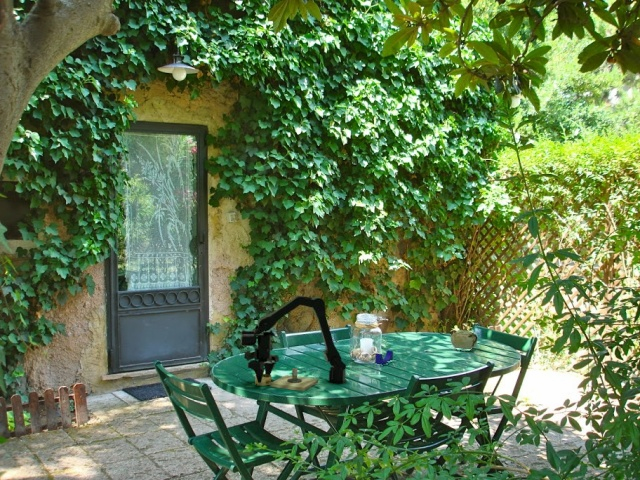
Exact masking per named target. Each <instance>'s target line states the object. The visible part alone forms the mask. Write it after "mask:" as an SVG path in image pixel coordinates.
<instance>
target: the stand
mask: <svg viewBox="0 0 640 480" xmlns="http://www.w3.org/2000/svg"><path fill="white" fill-rule="evenodd" d="M298 373H299V371H298V368H296V367H295V368H291V375H288V374H285V375H283V376H282V377H280V378H278V379H276V380H274V381H271V383H270V385H269V387H271V388H279V389H286V390H293V391H299V392H305V391H307V390H308V389H310V388H312V387H313V386H315V385H317V384H318V383H319V379H318V378H312V377H302V376H298Z"/></svg>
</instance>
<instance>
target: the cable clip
mask: <svg viewBox="0 0 640 480" xmlns="http://www.w3.org/2000/svg"><path fill="white" fill-rule="evenodd" d="M385 352H386V353H385V356H384V357H383V354H382V353H375V358H374V359H375V361H374V362H375V363H377V364H382V365H383V364H386V363H388V362H387V361H390V360H394V351H393V350H391V349H390V350H386V351H385Z"/></svg>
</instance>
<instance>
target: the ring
mask: <svg viewBox="0 0 640 480" xmlns="http://www.w3.org/2000/svg"><path fill="white" fill-rule="evenodd" d="M254 375H255V378H254V380H255V381H254V383H255V385H256V384H257V385H256V386H260V387H261V386H262V387H263V386H270V383H271V382H272V374H265V373H263V377H262V380H261V383H258V381H257V377H256V374H254Z"/></svg>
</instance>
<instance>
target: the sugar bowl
mask: <svg viewBox="0 0 640 480" xmlns="http://www.w3.org/2000/svg"><path fill="white" fill-rule="evenodd" d="M463 327H464V328H463ZM450 342H451V344H452V346H453V347H454V349H455V348H463V349H471V348H473V349H474V348H475V347H476V345H477V342H478V335H477V334H476V333H474V332H472V331H470V330H468V329H467V326H466V324H462V325H460V329H459V330H454V329H452V330H451V332H450Z"/></svg>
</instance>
